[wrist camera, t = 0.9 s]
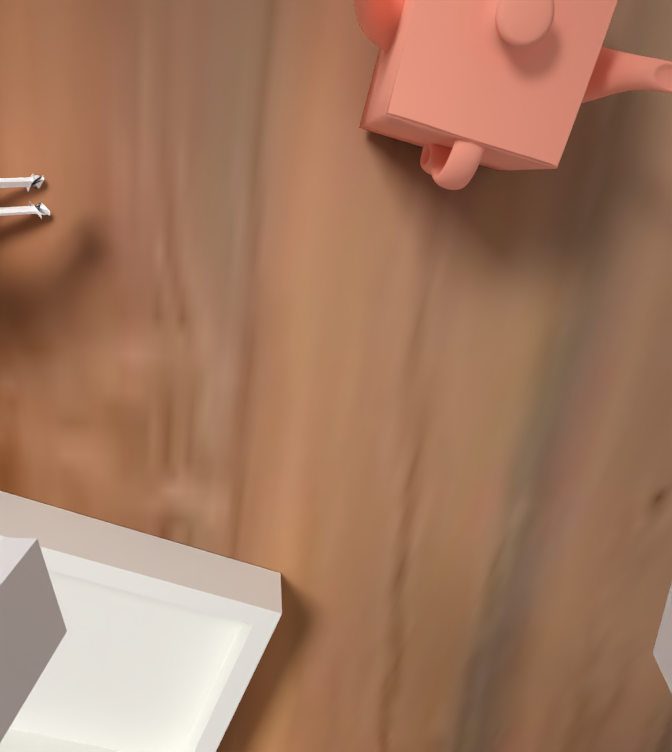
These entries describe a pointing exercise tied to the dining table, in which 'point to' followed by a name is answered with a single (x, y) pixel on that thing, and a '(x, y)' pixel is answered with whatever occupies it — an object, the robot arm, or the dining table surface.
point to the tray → (139, 637)
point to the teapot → (492, 78)
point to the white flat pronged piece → (27, 182)
